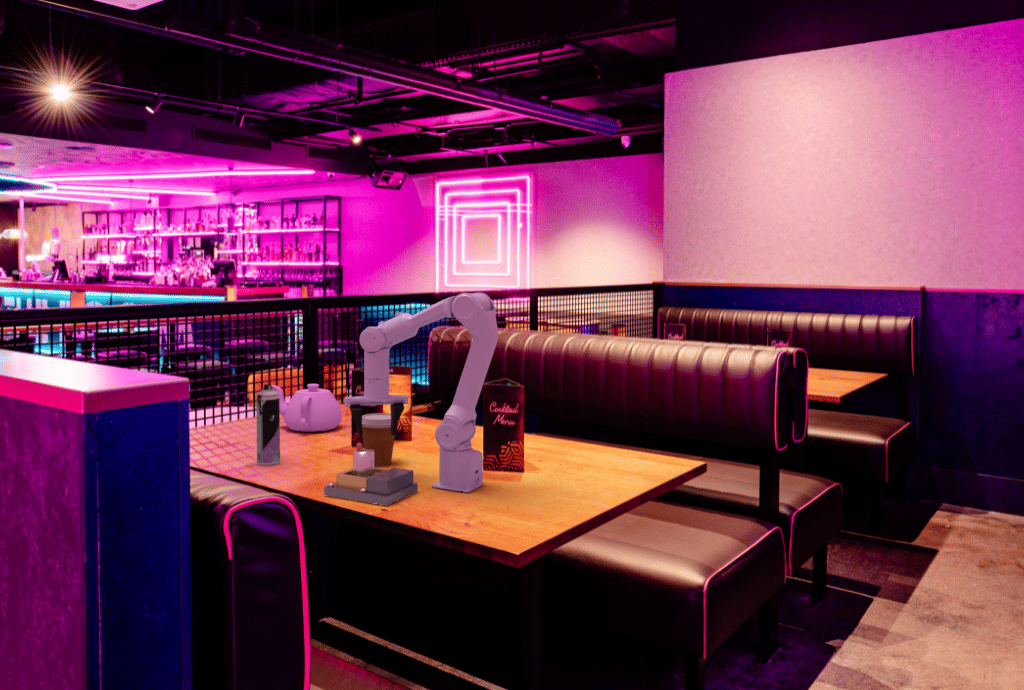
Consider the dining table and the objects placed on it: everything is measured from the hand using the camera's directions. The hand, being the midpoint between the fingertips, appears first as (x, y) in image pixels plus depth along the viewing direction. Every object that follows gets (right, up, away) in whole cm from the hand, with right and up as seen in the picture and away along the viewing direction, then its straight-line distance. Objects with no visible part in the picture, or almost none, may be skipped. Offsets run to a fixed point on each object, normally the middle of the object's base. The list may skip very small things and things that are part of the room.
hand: (376, 435), depth 178 cm
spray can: (-29, -9, +12) cm, 33 cm away
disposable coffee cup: (-2, -9, +14) cm, 16 cm away
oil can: (-1, -9, -12) cm, 15 cm away
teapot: (-31, -5, +55) cm, 63 cm away
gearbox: (+1, -11, -13) cm, 17 cm away
